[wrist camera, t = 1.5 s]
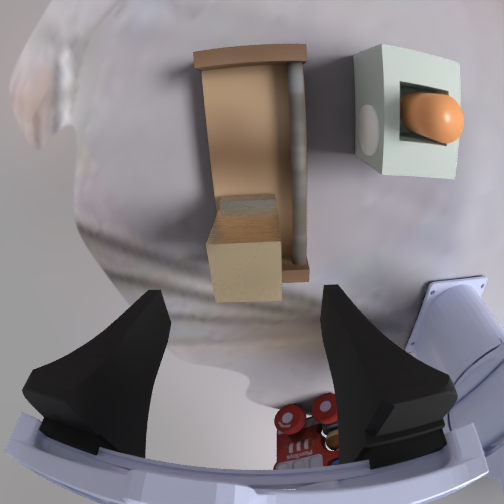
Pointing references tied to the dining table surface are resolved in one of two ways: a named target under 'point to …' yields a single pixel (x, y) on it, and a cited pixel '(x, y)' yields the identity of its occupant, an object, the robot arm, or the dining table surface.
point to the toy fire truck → (307, 435)
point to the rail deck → (260, 135)
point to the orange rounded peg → (432, 116)
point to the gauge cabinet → (388, 111)
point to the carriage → (246, 250)
